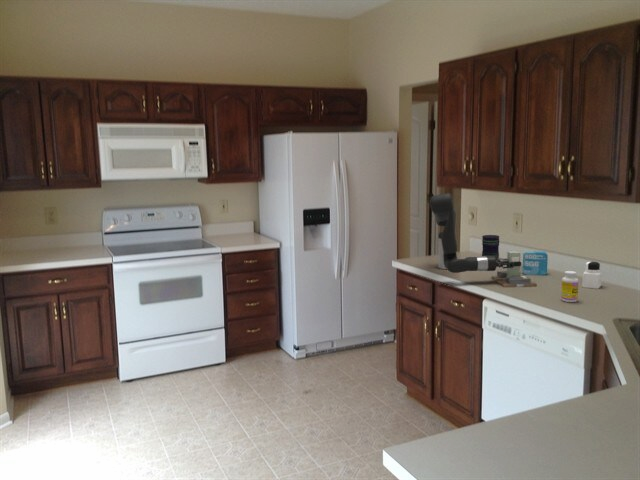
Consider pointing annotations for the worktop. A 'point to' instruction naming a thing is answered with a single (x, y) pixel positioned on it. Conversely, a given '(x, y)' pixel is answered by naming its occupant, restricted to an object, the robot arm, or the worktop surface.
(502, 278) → the rail board
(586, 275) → the medicine bottle
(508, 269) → the block
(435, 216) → the robot arm
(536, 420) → the worktop surface
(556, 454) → the worktop surface
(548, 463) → the worktop surface
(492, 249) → the storage jar
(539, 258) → the blue product box
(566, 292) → the supplement bottle
